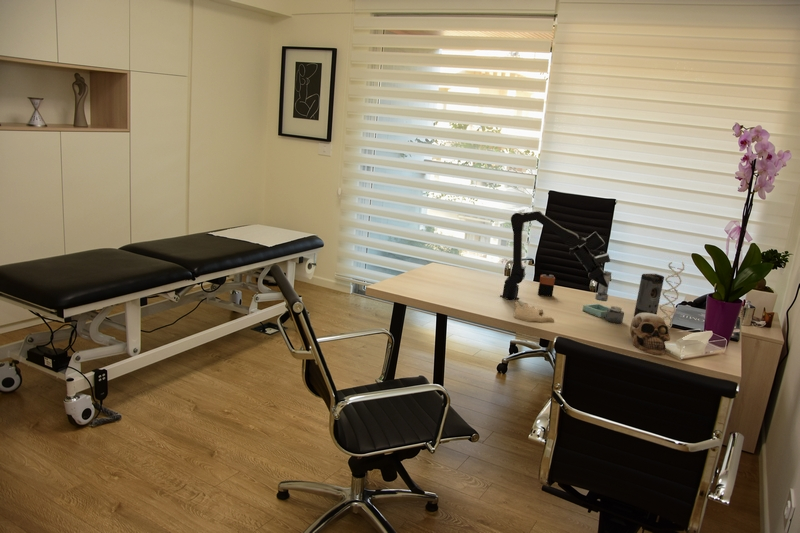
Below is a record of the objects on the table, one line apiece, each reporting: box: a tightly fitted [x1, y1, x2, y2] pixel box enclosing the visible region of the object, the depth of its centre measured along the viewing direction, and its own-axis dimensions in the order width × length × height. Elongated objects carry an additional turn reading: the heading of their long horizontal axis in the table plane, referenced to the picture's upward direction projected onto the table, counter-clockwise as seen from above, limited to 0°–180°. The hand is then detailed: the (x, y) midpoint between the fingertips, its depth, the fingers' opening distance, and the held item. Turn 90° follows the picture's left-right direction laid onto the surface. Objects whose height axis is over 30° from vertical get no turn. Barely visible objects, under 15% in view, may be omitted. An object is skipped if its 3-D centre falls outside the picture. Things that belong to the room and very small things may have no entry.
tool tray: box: [582, 303, 611, 318], centre depth 273 cm, size 10×10×3 cm
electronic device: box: [633, 273, 665, 318], centre depth 270 cm, size 9×6×20 cm, turn 117°
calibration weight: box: [604, 305, 625, 325], centre depth 262 cm, size 7×7×6 cm
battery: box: [537, 273, 556, 298], centre depth 295 cm, size 4×7×10 cm, turn 75°
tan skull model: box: [629, 313, 671, 356], centre depth 234 cm, size 16×17×13 cm
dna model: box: [659, 261, 685, 330], centre depth 250 cm, size 7×6×30 cm
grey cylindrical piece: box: [594, 270, 612, 302], centre depth 270 cm, size 5×5×12 cm
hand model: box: [513, 300, 555, 323], centre depth 258 cm, size 19×5×20 cm
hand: (607, 285), depth 270 cm, fingers closed on grey cylindrical piece, 4 cm apart
